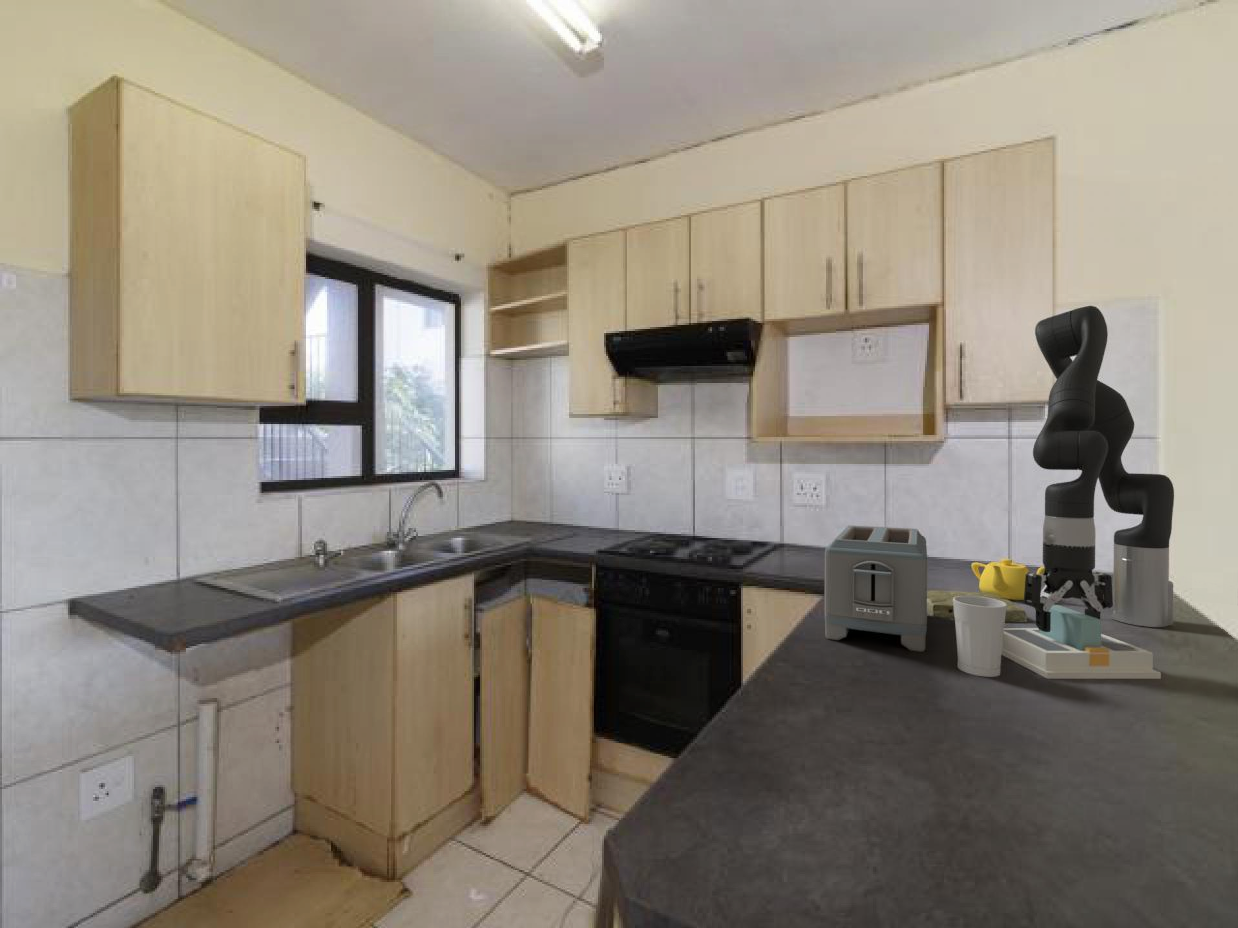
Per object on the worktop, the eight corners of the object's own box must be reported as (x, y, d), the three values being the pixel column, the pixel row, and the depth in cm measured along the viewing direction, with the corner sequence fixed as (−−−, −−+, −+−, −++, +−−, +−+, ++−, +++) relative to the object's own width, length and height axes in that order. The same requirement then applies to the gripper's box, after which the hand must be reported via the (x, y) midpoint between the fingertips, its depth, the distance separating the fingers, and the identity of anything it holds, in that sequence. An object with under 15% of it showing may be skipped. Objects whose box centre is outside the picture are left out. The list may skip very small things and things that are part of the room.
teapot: (994, 602, 148) (994, 563, 148) (967, 590, 161) (967, 554, 161) (1051, 603, 147) (1051, 564, 146) (1019, 591, 160) (1019, 555, 160)
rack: (1084, 646, 113) (1084, 623, 113) (1160, 678, 97) (1161, 651, 97) (986, 646, 113) (986, 623, 113) (1047, 678, 97) (1047, 651, 97)
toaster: (820, 644, 115) (821, 542, 115) (841, 605, 145) (841, 524, 144) (926, 660, 106) (927, 548, 106) (925, 615, 136) (926, 528, 136)
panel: (1057, 646, 110) (1058, 604, 110) (1100, 666, 100) (1101, 619, 100) (1039, 646, 110) (1039, 604, 110) (1080, 665, 100) (1081, 619, 100)
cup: (998, 664, 104) (999, 597, 103) (1012, 681, 96) (1013, 608, 96) (948, 659, 106) (948, 594, 106) (957, 675, 99) (958, 604, 99)
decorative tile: (907, 600, 151) (907, 586, 151) (992, 604, 148) (992, 590, 148) (933, 620, 133) (933, 605, 133) (1030, 625, 129) (1030, 609, 129)
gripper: (1091, 538, 109) (1090, 624, 109) (1014, 538, 109) (1014, 624, 109) (1126, 544, 101) (1124, 637, 101) (1044, 544, 101) (1043, 637, 101)
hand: (1067, 630), depth 105 cm, fingers open, 8 cm apart
